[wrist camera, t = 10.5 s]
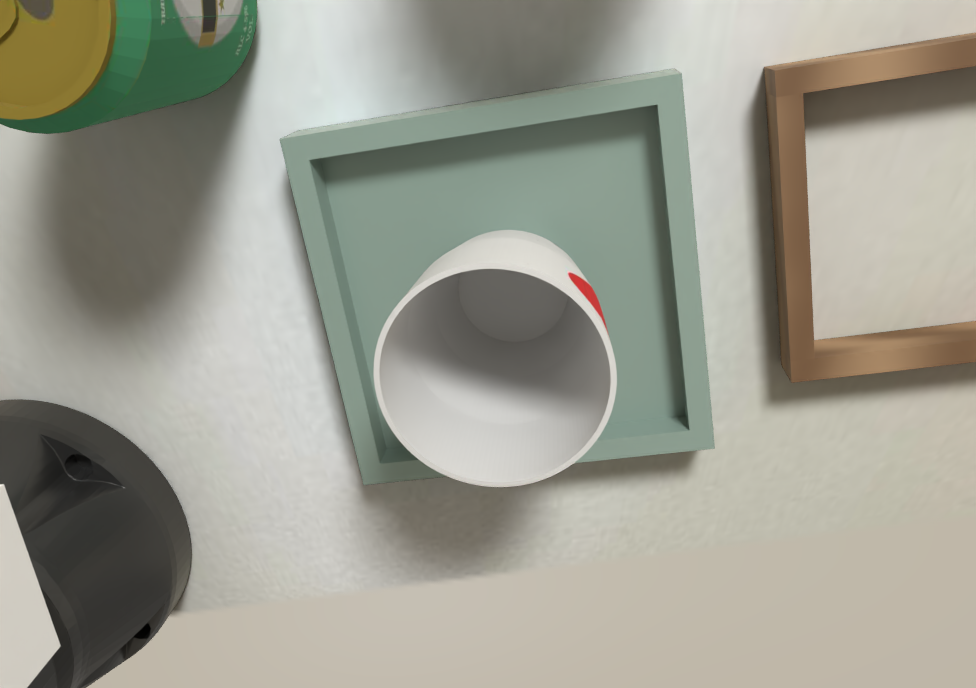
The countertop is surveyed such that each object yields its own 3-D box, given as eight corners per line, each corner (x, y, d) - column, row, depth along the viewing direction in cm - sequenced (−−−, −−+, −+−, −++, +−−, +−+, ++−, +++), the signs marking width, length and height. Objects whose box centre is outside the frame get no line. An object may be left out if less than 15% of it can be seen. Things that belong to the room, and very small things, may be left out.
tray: (374, 459, 44) (363, 485, 41) (297, 130, 38) (279, 139, 36) (706, 423, 41) (714, 448, 39) (674, 68, 36) (681, 73, 34)
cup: (599, 380, 40) (607, 495, 31) (420, 369, 41) (375, 479, 31) (613, 201, 37) (626, 269, 28) (420, 192, 38) (370, 256, 28)
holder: (781, 365, 40) (791, 382, 38) (764, 66, 36) (774, 70, 34) (1092, 328, 38) (1119, 345, 36) (1115, 9, 34) (1146, 10, 32)
